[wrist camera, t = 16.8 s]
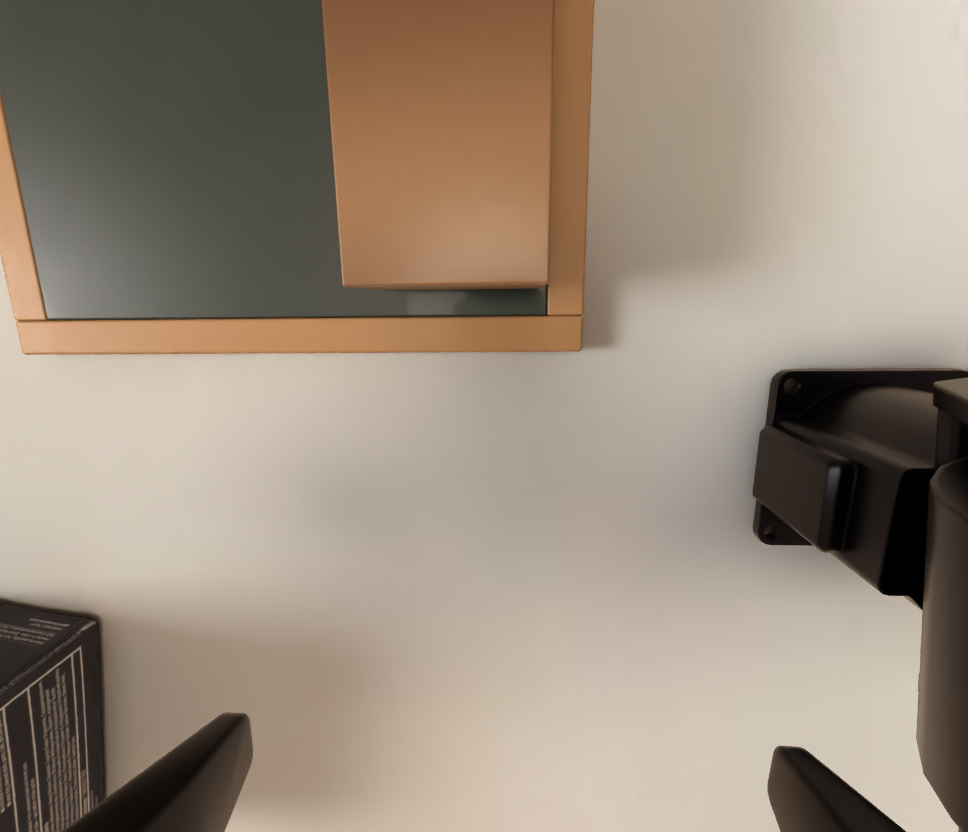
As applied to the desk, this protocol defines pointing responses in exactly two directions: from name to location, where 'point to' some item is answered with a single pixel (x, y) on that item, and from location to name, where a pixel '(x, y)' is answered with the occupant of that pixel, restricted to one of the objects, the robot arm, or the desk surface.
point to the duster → (442, 141)
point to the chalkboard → (229, 189)
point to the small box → (48, 720)
